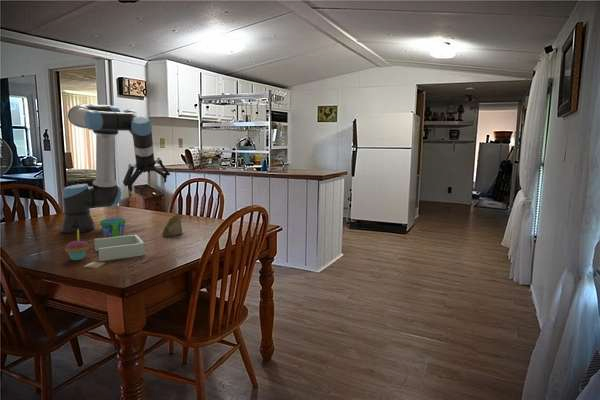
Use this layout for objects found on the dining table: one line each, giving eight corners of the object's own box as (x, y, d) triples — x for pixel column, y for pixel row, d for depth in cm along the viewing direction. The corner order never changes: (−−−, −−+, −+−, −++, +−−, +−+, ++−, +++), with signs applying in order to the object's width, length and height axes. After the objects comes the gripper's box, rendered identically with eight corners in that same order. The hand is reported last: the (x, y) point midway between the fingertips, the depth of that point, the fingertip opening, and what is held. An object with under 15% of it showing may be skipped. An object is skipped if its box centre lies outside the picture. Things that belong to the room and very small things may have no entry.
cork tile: (84, 269, 146) (84, 265, 146) (92, 264, 151) (92, 261, 151) (96, 269, 146) (96, 266, 145) (105, 265, 151) (104, 262, 150)
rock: (161, 233, 189) (182, 229, 192) (158, 217, 193) (179, 214, 196) (163, 242, 198) (184, 238, 202) (161, 227, 202) (181, 223, 205)
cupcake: (72, 255, 161) (69, 226, 159) (93, 255, 162) (91, 226, 160) (61, 261, 153) (58, 231, 151) (84, 261, 153) (81, 231, 152)
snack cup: (101, 238, 188) (100, 217, 186) (125, 236, 192) (124, 216, 191) (101, 246, 174) (99, 224, 172) (127, 244, 178) (126, 222, 177)
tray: (99, 261, 154) (98, 248, 153) (95, 250, 168) (94, 239, 167) (145, 255, 163) (144, 243, 162) (137, 245, 177) (136, 234, 176)
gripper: (116, 163, 160) (123, 204, 173) (176, 151, 174) (177, 189, 187) (110, 154, 164) (117, 194, 177) (169, 142, 178) (171, 180, 191)
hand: (148, 191), depth 182 cm, fingers open, 13 cm apart
